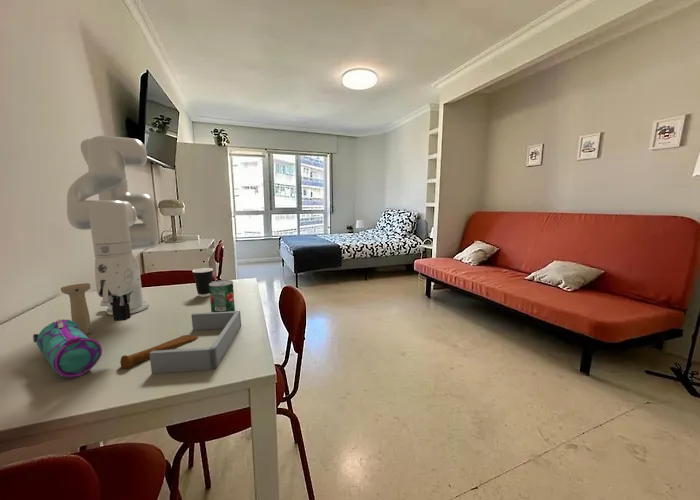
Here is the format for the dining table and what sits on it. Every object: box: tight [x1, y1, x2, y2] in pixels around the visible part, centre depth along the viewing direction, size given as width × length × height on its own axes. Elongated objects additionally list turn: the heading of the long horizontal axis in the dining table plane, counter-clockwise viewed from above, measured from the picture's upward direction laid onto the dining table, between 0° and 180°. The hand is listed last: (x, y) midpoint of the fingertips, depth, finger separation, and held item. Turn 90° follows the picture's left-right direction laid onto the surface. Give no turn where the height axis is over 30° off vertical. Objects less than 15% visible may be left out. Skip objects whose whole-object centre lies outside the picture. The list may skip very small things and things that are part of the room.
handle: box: [60, 282, 91, 336], centre depth 90 cm, size 5×6×15 cm
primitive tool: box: [119, 334, 199, 370], centre depth 80 cm, size 19×6×4 cm, turn 159°
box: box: [149, 310, 242, 374], centre depth 83 cm, size 14×25×5 cm, turn 7°
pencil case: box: [32, 318, 103, 378], centre depth 74 cm, size 21×9×10 cm, turn 54°
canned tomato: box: [209, 279, 236, 312], centre depth 108 cm, size 8×8×11 cm
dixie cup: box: [192, 267, 214, 298], centre depth 129 cm, size 8×8×11 cm
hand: (122, 319), depth 79 cm, fingers closed
